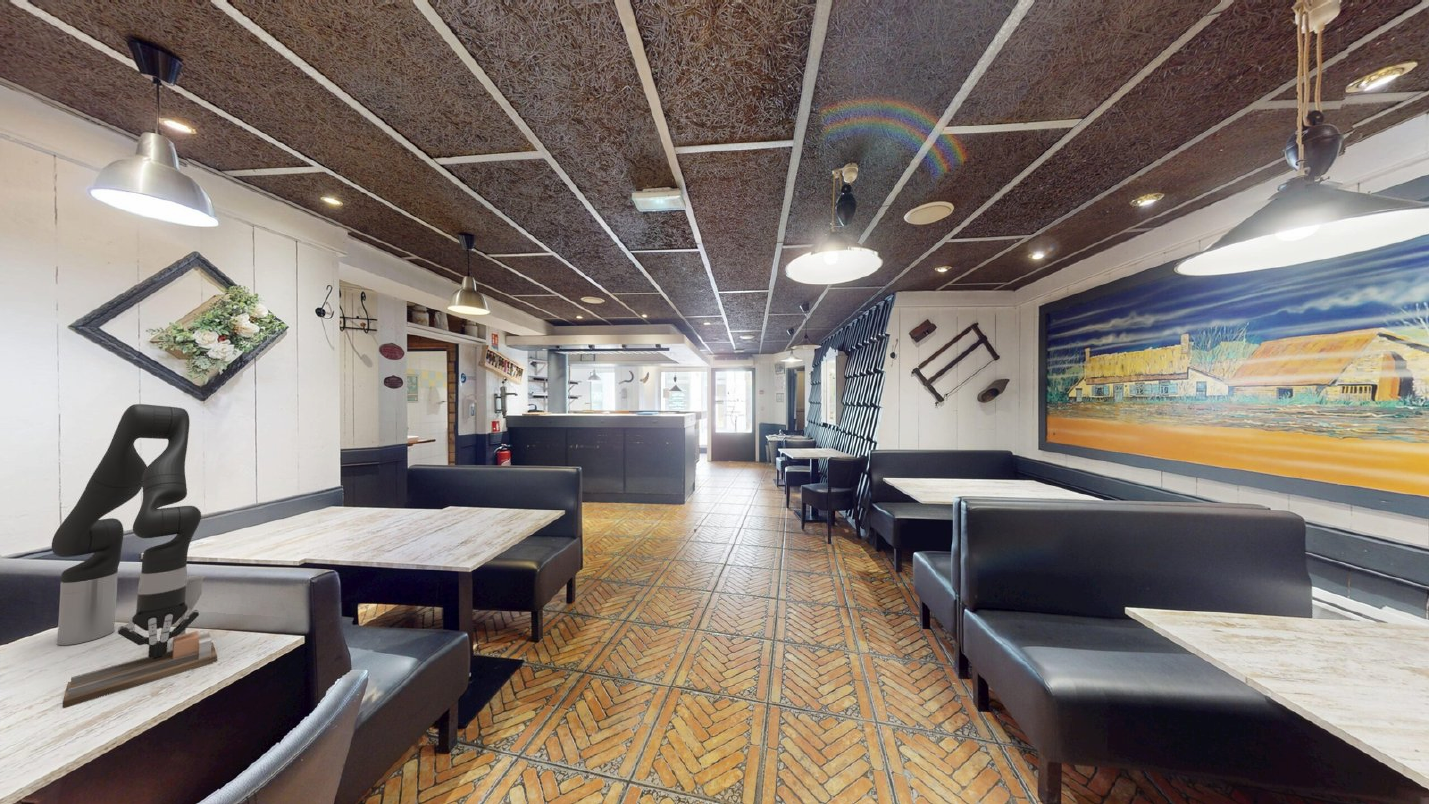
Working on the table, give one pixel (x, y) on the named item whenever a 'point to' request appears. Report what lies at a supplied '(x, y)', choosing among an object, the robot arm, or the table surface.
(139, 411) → the robot arm
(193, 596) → the chalice
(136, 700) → the table surface
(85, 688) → the rail board
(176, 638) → the orange-brown block
